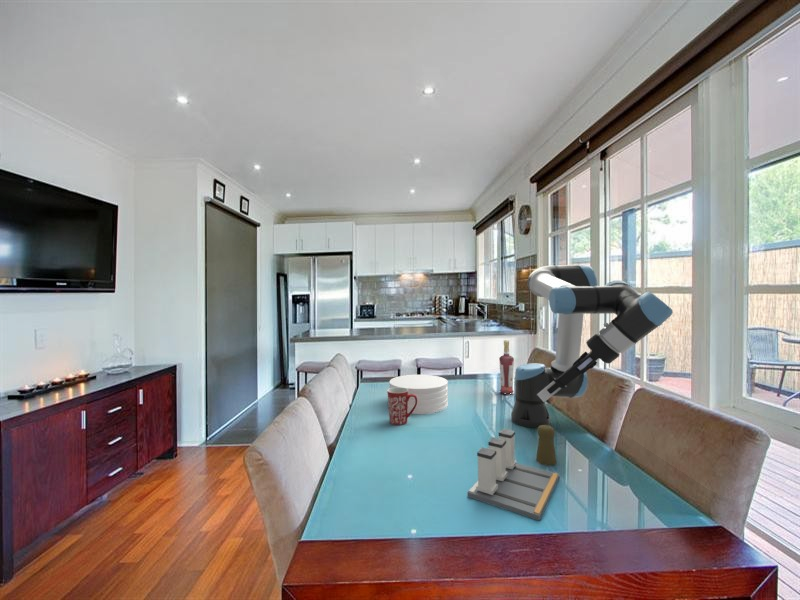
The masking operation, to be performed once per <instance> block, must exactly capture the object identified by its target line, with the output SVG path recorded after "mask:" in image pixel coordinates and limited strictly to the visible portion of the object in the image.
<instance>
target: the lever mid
mask: <svg viewBox="0 0 800 600" xmlns="http://www.w3.org/2000/svg"><path fill="white" fill-rule="evenodd" d="M487 443H488V449H491V450H496V480H500V481H504V479H505V478H506V477H507V475H508V472H507V471H506V450H505V444H506V440H503V439H499V437H498V438H497V437H493V436H492V437H491V439H490V440H489V441H488V442H487Z"/></svg>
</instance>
